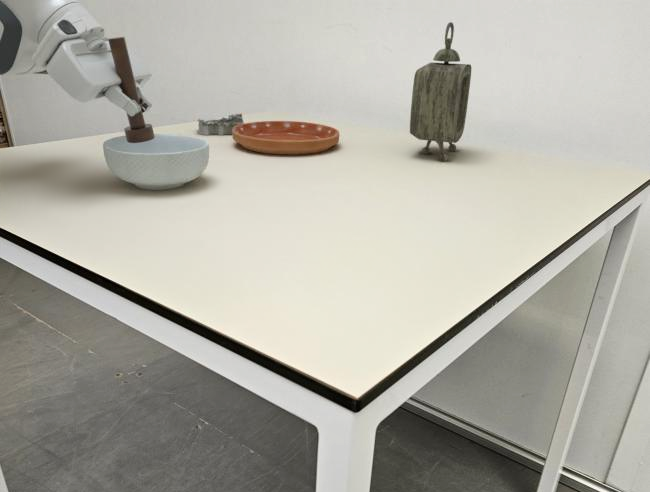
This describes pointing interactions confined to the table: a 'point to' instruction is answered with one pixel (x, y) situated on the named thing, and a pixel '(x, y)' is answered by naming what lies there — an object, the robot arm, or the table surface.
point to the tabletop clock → (440, 99)
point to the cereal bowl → (157, 160)
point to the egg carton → (220, 125)
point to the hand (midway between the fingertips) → (142, 111)
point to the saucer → (285, 137)
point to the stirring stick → (129, 92)
